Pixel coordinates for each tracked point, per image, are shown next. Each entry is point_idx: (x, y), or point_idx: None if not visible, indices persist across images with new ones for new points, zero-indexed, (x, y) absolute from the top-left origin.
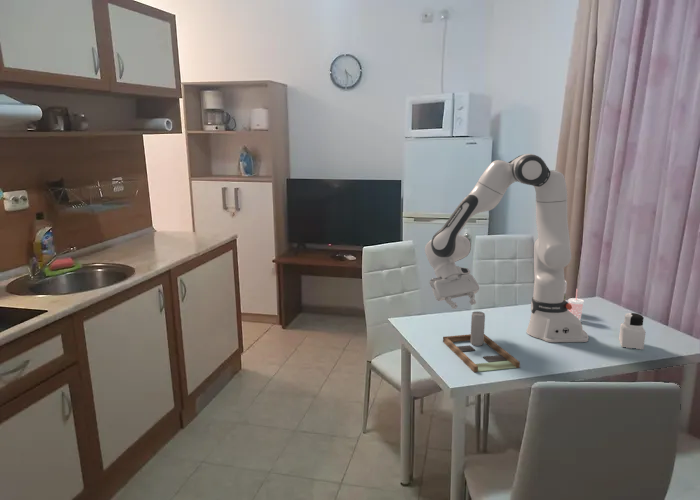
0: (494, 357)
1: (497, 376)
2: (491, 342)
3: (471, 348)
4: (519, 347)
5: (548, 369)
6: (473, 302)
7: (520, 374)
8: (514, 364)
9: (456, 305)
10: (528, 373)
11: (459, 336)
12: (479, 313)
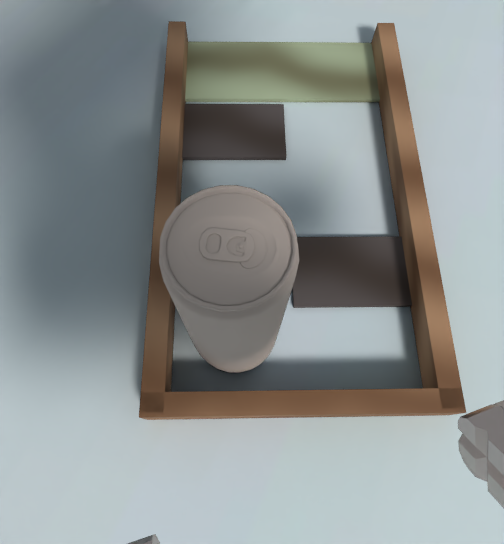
0: (232, 137)
1: (304, 6)
2: None
3: (304, 259)
4: (15, 231)
5: (63, 14)
6: (146, 541)
7: (204, 3)
8: (187, 49)
9: (484, 417)
10: (168, 4)
11: (342, 391)
12: (211, 253)
